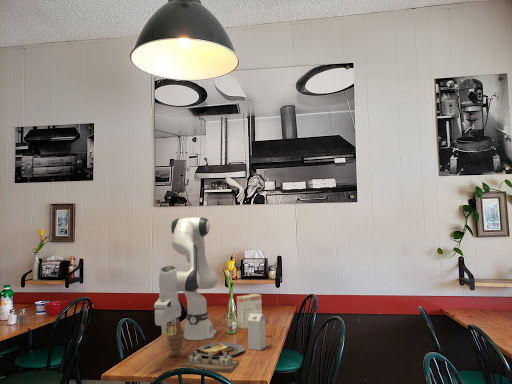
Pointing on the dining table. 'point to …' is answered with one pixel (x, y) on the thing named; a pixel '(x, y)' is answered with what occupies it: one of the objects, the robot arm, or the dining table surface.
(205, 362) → the gear board
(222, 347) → the food plate
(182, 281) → the robot arm
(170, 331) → the brass gear
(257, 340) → the milk carton
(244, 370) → the dining table surface
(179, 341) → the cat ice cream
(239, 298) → the coffeecake box
